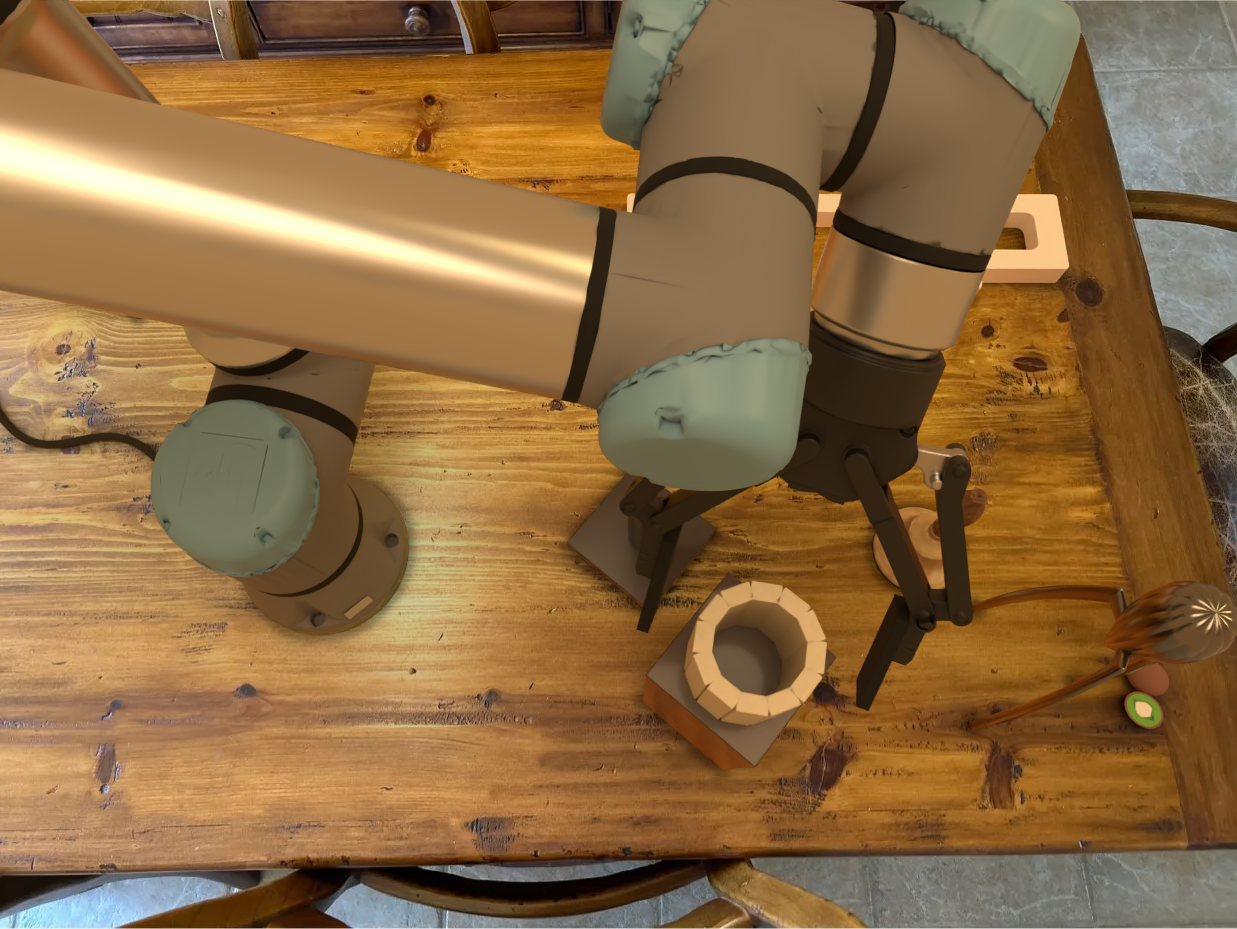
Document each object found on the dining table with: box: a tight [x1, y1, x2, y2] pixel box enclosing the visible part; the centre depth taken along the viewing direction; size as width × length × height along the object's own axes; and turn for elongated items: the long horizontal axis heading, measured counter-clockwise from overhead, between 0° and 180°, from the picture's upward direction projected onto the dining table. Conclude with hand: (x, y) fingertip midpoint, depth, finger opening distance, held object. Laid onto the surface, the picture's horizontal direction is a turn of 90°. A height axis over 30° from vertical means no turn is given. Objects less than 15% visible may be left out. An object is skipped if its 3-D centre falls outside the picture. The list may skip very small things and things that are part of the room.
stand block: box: [642, 571, 837, 771], centre depth 69 cm, size 9×9×22 cm
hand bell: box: [872, 487, 988, 589], centre depth 75 cm, size 8×8×16 cm
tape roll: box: [684, 580, 828, 726], centre depth 54 cm, size 7×7×9 cm
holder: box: [626, 193, 1070, 311], centre depth 91 cm, size 45×18×3 cm, turn 89°
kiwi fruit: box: [1123, 656, 1170, 730], centre depth 77 cm, size 6×5×3 cm
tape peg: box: [566, 473, 718, 609], centre depth 78 cm, size 10×10×12 cm
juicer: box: [968, 579, 1237, 730], centre depth 65 cm, size 10×11×30 cm
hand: (752, 657), depth 54 cm, fingers open, 13 cm apart
